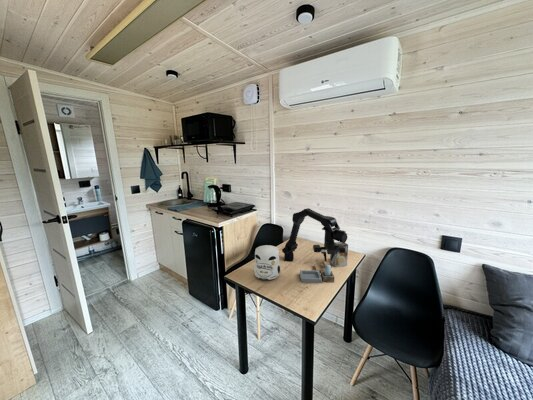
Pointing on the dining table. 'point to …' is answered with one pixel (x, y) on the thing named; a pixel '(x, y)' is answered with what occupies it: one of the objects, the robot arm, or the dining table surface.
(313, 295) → the dining table surface
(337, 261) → the coffee box
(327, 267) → the dowel
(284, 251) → the robot arm
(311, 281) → the tray
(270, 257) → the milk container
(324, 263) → the light wooden block
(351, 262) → the dining table surface
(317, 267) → the tan cardboard box
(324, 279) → the socket block
